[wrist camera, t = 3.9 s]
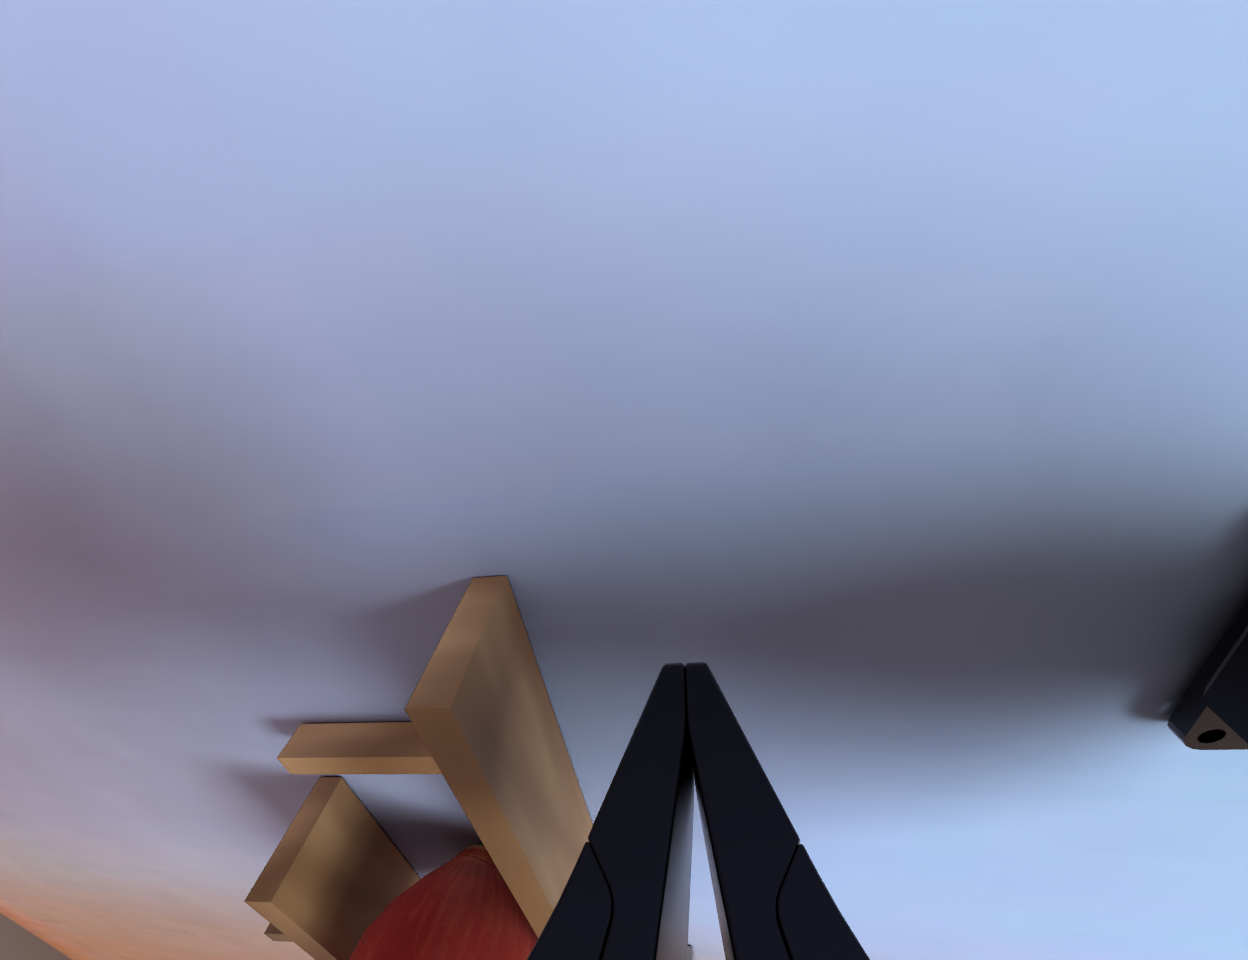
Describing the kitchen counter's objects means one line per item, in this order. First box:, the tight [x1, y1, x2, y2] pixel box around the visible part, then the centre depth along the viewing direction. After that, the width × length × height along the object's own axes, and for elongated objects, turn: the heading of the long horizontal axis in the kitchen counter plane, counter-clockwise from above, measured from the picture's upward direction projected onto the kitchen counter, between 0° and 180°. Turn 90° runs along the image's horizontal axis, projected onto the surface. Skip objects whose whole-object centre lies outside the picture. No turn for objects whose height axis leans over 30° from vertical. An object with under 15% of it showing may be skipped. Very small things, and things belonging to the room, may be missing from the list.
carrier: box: [244, 576, 593, 960], centre depth 14 cm, size 9×18×3 cm, turn 8°
